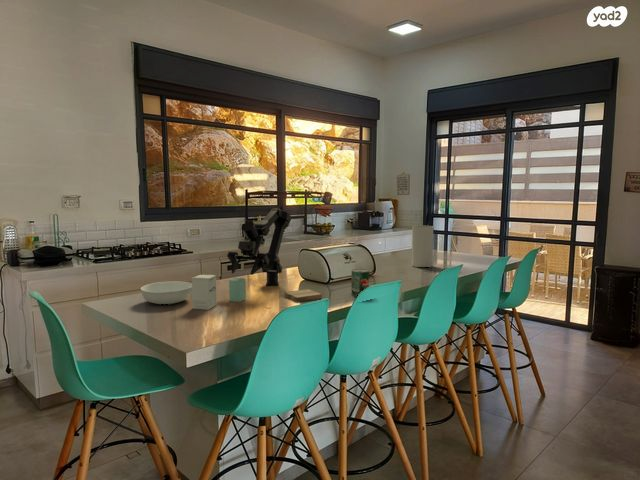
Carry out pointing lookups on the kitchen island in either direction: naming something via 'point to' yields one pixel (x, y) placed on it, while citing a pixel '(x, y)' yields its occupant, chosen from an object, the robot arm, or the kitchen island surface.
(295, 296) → the walnut board
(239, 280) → the teal block
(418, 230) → the cylinder vase
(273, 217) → the robot arm
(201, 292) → the supplement box
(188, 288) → the serving bowl
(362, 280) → the canned tomato
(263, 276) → the kitchen island surface
